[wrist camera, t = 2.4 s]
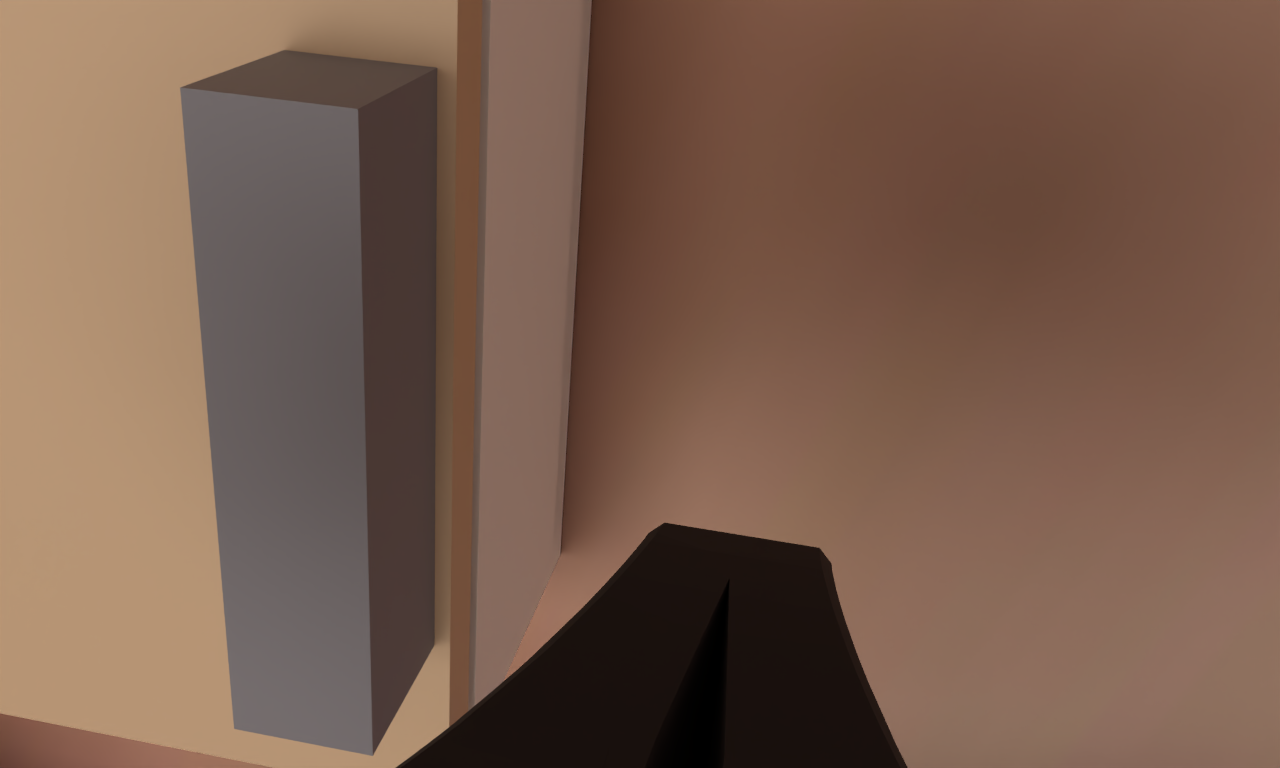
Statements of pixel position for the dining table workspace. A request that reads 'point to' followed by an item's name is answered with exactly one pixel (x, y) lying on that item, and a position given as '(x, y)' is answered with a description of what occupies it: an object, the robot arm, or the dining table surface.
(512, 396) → the mailer base
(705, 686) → the robot arm
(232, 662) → the mailer lid
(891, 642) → the dining table surface
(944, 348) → the dining table surface
